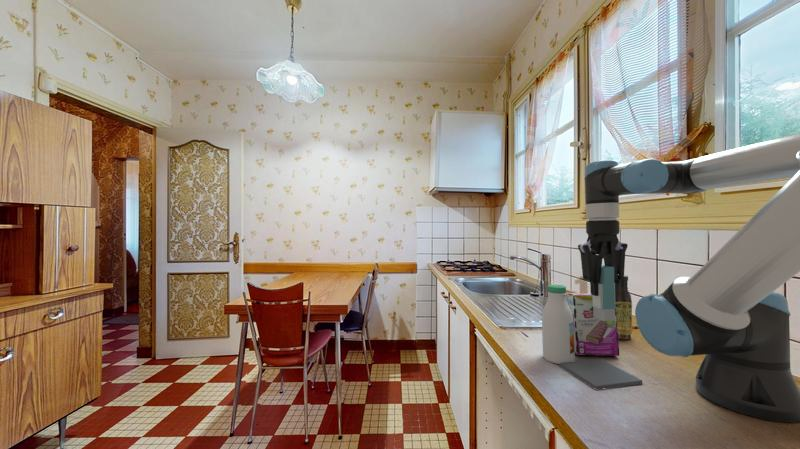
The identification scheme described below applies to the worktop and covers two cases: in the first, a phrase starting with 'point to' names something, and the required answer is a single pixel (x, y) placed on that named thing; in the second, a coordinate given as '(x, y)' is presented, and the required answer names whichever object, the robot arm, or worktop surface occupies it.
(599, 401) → the worktop surface
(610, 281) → the stick
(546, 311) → the milk bottle
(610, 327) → the candy bar box
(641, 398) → the worktop surface
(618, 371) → the mat
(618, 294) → the sauce bottle
